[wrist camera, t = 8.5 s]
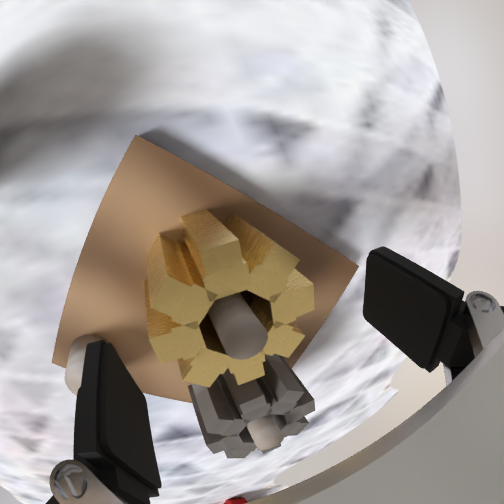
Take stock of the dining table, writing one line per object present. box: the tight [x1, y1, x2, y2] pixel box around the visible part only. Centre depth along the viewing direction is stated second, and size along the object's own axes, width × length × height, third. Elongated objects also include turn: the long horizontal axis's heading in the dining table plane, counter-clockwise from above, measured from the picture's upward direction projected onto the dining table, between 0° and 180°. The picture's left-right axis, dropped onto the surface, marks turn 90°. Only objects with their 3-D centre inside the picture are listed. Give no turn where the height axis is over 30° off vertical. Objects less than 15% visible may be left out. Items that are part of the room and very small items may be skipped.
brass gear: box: [144, 209, 315, 388], centre depth 13 cm, size 7×7×5 cm
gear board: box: [52, 135, 359, 458], centre depth 14 cm, size 14×16×7 cm
